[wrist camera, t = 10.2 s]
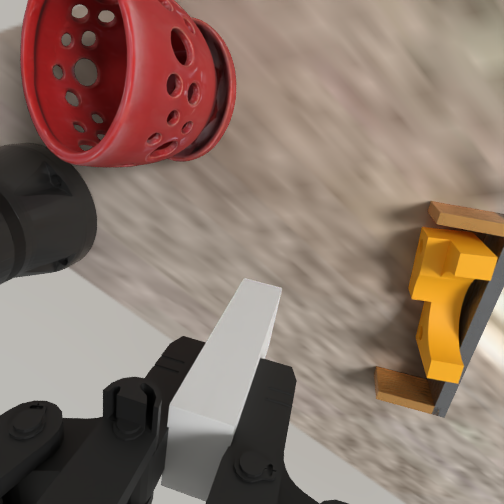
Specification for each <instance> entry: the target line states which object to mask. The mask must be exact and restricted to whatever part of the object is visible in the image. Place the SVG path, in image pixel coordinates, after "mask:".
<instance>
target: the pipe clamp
mask: <svg viewBox="0 0 504 504" xmlns="http://www.w3.org/2000/svg"><path fill="white" fill-rule="evenodd" d="M497 259H498V257H497V256H496V255H495V254H494V253H493V252H492V251H491V250H490V249H489V248H488V247H487V246H486V245H485V244H484V243H483V242H482V241H481V240H480V239H479V238H478V237H477V236H476V235H475V234H474V233H473V232H467V231H457V230H448V229H438V228H429V227H422V229H421V233H420V238H419V242H418V247H417V251H416V256H415V260H414V265H413V269H412V274H411V278H410V283H409V287H408V289H409V292H410V295H411V298H412V299H415V300H422V301H424V305H423V309H422V313H421V317H420V321H419V326H418V330H417V334H416V341H417V345H418V348H419V352H420V355H421V359H422V363H423V366H424V370H425V373H426V377H427V378H430V379H436V380H441V381H446V382H452V383H457V384H458V383H459V380H460V377H461V374H462V370H463V367H464V365H463V362H462V359H461V355H460V349H459V319H460V312H461V307H462V303H463V300H464V297H465V294H466V292H467V290H468V288H469V286H470V284H471V283H472V282H473V281H474V280H475V279H481V280H489V281H491V278H492V275H493V272H494V268H495V265H496V262H497Z"/></svg>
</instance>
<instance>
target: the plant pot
mask: <svg viewBox="0 0 504 504" xmlns="http://www.w3.org/2000/svg"><path fill="white" fill-rule="evenodd" d="M78 4H81V5H84V6H85V7H86V8H87V9H88V14H87V15H86V16H85V17H83V18H75V17H73V16H72V9H73V7H74V6H76V5H78ZM104 10H108V11H111V12H112V13H113V14H114V15H115V17H114V19H113V20H112V21H111V22H108V23H107V22H102V21H100V20H99V19H98V15H99V13H100V12H101V11H104ZM86 31H92V32H94V33H95V35H96V40H95V43H94V44H93V45H91V46H85V45H83V44H82V40H81V39H82V35H83V33H84V32H86ZM65 33H68V34H69V35H70V36H71V43H70V44H69V45H68V46H64V45H63V44H62V42H61V38H62V36H63V35H64V34H65ZM83 58H84V59H89V60H91V61H92V62H93V63H94V64H95V66H96V68H97V73H98V74H97V79H96V81H95V83H94V84H93V85H91V86H84V85H82V84H80V83H79V82H78V81H77V79H76V77H75V73H74V67H75V64H76V62H77V61H78V60H80V59H83ZM20 61H21V76H22V84H23V90H24V95H25V100H26V103H27V107H28V110H29V113H30V116H31V119H32V121H33V124H34V126H35V128H36V130H37V132H38V134H39V136H40V137H41V139H42V141H43V142H44V143H45V145H46V146H47V148H48V149H49V150H50V151H51V152H52V153H54V154H55V155H56V156H57V157H58V158H60V159H61V160H63V161H65V162H68V163H70V164H74V165H81V166H91V167H131V166H137V165H144V164H150V163H154V162H158V161H161V160H164V159H170V160H173V161H190V160H194V159H197V158H199V157H201V156H203V155H205V154H206V153H208V152H209V151H210V150H211V149H212V148H213V147H214V146H216V144H217V143H218V142H219V140H220V139H221V137H222V136H223V134H224V133H225V131H226V129H227V127H228V125H229V122H230V120H231V117H232V114H233V110H234V105H235V99H236V75H235V68H234V64H233V60H232V57H231V54H230V52H229V50H228V48H227V46H226V44H225V42H224V41H223V39H222V38H221V37H220V35H219V34H218V33H217V32H216V31H215V30H214V29H213V28H212V27H211V26H209V25H208V24H207V23H205V22H203V21H202V20H199V19H196V18H191V17H190V16H189V15H188V14H187V13H186V12H185V11H184V9H183V8H182V7H181V6H180V5H179V4H178V3H176V2H175V1H174V0H28V3H27V7H26V11H25V15H24V19H23V26H22V33H21V58H20ZM55 65H57V66H59V67H60V68H61V69H62V72H63V76H62V78H61V79H57V78H56V77H55V76H54V74H53V67H54V66H55ZM67 91H69V92H72V93H73V94H75V95H76V97H77V99H78V102H79V105H78V106H72V105H71V104H69V103H68V102H67V100H66V98H65V96H66V93H67ZM93 114H97V115H99V116H100V117H101V118H102V120H103V123H97V122H95V121H94V120H93V119H92V115H93ZM75 124H76V125H79V126H81V127H82V128H83V129H84V131H85V132H84V133H82V132H79V131H77V130H76V129H75V128H74V126H73V125H75ZM98 134H103V135H105V136H104V137H103V139H102V140H100V139H99V138H98V137H97V135H98ZM80 145H89V146H92V147H93V148H91V149H90V150H87V151H84V150H82V149H81V148H80V147H79V146H80Z"/></svg>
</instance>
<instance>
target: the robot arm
mask: <svg viewBox="0 0 504 504" xmlns="http://www.w3.org/2000/svg"><path fill="white" fill-rule="evenodd" d="M96 230H97V217H96V210H95V206H94V202H93V199H92V196H91V194H90V191H89V189H88V187H87V185H86V184H85V182H84V180H83V179H82V177H81V176H80V174H79V173H78V172H77V171H76V169H75V168H74V167H73V166H72V165H71V164H70V163H68V162H65V161H63V160H61V159H60V158H58V157H57V156H56V155H55V154H54V153H52V152H51V151H50V150H49V149H48V148H46V147H44V146H41V145H37V144H31V143H20V144H11V145H4V146H0V284H2V283H4V282H6V281H8V280H10V279H12V278H15V277H22V276H30V275H37V274H45V273H52V272H57V271H60V270H63V269H65V268H67V267H69V266H71V265H72V264H74V263H76V262H78V261H79V260H81V259H82V258H83V257H84V256H85V255H86V254H87V253H88V252H89V250H90V249H91V247H92V245H93V242H94V240H95V236H96ZM281 292H282V288H280V287H277V286H273V285H269V284H265V283H262V282H258V281H254V280H250V279H246V278H244V279H243V281H242V282H241V284H240V286H239V287H238V289H237V291H236V293H235V294H234V296H233V298H232V299H231V301H230V303H229V304H228V306H227V308H226V310H225V311H224V313H223V315H222V316H221V318H220V320H219V321H218V323H217V325H216V327H215V328H214V330H213V332H212V333H211V335H210V337H209V338H208V340H207V342H206V343H205V342H202V341H198V340H195V339H192V338H188V337H185V336H182V337H181V338H179V339H177V340H175V341H174V342H172V343H171V344H170V345H169V346H168V347H167V348H166V350H165V351H164V352H163V354H162V356H161V357H160V358H159V359H158V361H157V362H156V364H155V366H154V367H153V368H152V369H151V370H150V371H149V373H148V374H147V376H146V377H145V378H139V377H129V378H123V379H120V380H117V381H115V382H113V383H111V384H110V385H109V386H108V387H106V388H105V389H104V390H103V417H99V418H91V419H80V418H62V411H61V410H60V409H59V408H58V407H57V405H55V404H53V403H50V402H48V401H32V402H27V403H22V404H20V405H18V406H16V407H14V408H12V409H10V410H8V411H7V412H5V413H4V414H2V415H0V504H151V503H152V499H153V491H154V489H155V487H156V485H157V483H158V481H159V479H160V477H161V475H162V481H161V485H162V486H165V487H168V488H171V489H173V490H176V491H179V492H181V493H184V494H187V495H190V496H192V497H195V498H198V499H201V500H203V501H206V504H319V503H318V502H317V501H315V500H314V499H312V498H311V497H310V496H308V495H307V494H305V493H304V492H303V491H302V490H301V489H299V488H298V487H297V486H296V485H295V483H294V482H293V481H292V480H291V479H290V477H289V475H288V473H287V471H286V468H285V464H284V448H285V442H286V437H287V431H288V426H289V420H290V415H291V408H292V403H293V398H294V392H295V386H296V378H295V375H294V372H293V369H292V367H290V366H287V365H283V364H280V363H276V362H273V361H270V360H266V359H265V357H266V354H267V350H268V347H269V343H270V339H271V335H272V330H273V326H274V322H275V317H276V313H277V309H278V304H279V300H280V296H281ZM320 504H348V503H345V502H342V501H338V500H329V501H323V502H322V503H320Z"/></svg>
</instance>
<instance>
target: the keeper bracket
mask: <svg viewBox="0 0 504 504" xmlns="http://www.w3.org/2000/svg"><path fill="white" fill-rule="evenodd" d="M428 213H429V214H430V216H431V217H432V219H433V220H434V221H435V223H436V224H439V225H444V226H449V227H455V228H460V229H465V230H471V231H476V232H481V233H486V236H485V239H484V241H483V243H484V244H485V245H486V246H487V247H488V248H489V249H490V250H491V251H492V252H493V253H494V254H495V255H496V256H497V257H498V259H497V262H496V265H495V268H494V272H493V275H492V278H491V281H489V280H481V279H475V280H474V281H473V282H472V283H471V284H470V286H469V288H468V290H467V292H466V294H465V297H464V300H463V303H462V307H461V312H460V319H459V349H460V355H461V359H462V362H463V365H464V367H463V370H462V374H461V377H460V380H459V383H458V384H457V383H452V382H446V381H441V380H436V379H430V378H428V379H423V378H419V377H416V376H412V375H408V374H404V373H400V372H396V371H393V370H389V369H385V368H381V367H377V366H376V369H375V372H374V379H375V391H376V399H379V400H382V401H386V402H389V403H393V404H397V405H400V406H404V407H408V408H411V409H415V410H418V411H422V412H426V413H429V414H433V415H437V416H440V417H445V415H446V413H447V410H448V408H449V406H450V404H451V402H452V399H453V397H454V395H455V393H456V391H457V388H458V386H459V384H460V382H461V379H462V377H463V375H464V373H465V371H466V368H467V366H468V364H469V362H470V360H471V357H472V355H473V353H474V351H475V349H476V346H477V344H478V342H479V340H480V338H481V335H482V333H483V331H484V329H485V327H486V324H487V322H488V320H489V318H490V316H491V313H492V311H493V309H494V307H495V305H496V302H497V300H498V298H499V296H500V293H501V291H502V289H503V287H504V214H500V213H495V212H489V211H484V210H478V209H472V208H467V207H461V206H455V205H450V204H444V203H439V202H433V201H431V202H430V205H429V209H428Z"/></svg>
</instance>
